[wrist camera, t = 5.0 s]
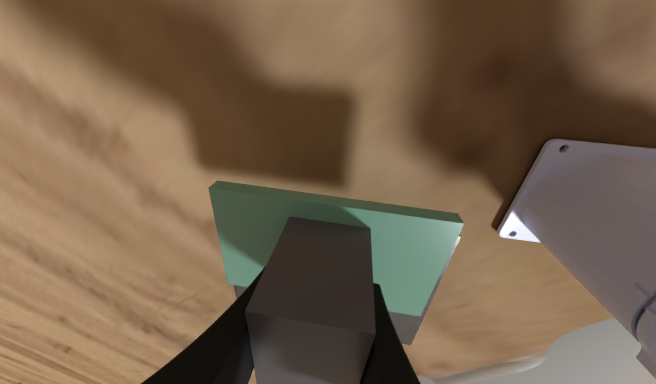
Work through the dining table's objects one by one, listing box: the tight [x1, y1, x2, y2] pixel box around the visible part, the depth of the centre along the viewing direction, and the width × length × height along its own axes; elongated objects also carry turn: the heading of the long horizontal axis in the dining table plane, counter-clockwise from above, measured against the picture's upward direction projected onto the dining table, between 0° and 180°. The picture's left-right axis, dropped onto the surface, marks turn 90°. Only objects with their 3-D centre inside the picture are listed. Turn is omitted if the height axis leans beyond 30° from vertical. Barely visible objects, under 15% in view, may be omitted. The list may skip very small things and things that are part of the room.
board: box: [209, 181, 464, 384], centre depth 11 cm, size 12×7×6 cm, turn 85°
